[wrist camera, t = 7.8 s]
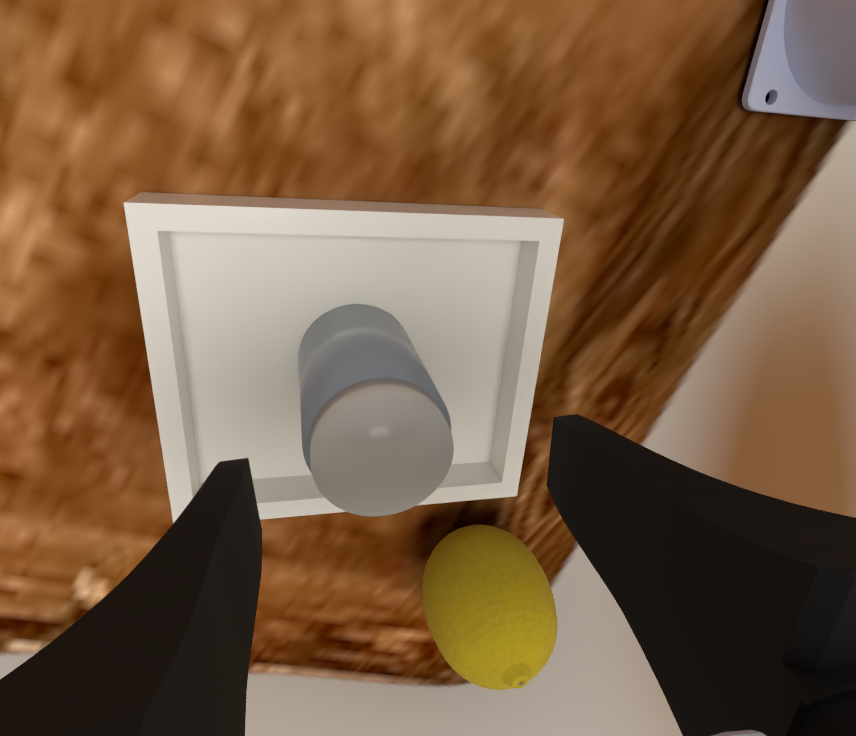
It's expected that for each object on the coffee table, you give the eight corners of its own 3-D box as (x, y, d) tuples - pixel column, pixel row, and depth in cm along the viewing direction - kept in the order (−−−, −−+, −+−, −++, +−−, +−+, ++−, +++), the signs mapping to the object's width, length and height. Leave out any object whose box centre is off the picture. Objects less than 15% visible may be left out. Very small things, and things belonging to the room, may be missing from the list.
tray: (538, 208, 21) (564, 218, 19) (499, 467, 26) (516, 496, 24) (141, 192, 18) (123, 202, 16) (183, 491, 23) (174, 527, 21)
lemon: (445, 593, 29) (496, 750, 22) (384, 535, 26) (420, 693, 19) (531, 535, 28) (611, 675, 21) (478, 470, 26) (549, 606, 19)
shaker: (410, 300, 21) (463, 379, 15) (411, 401, 23) (458, 510, 16) (292, 308, 20) (294, 396, 14) (303, 413, 22) (310, 532, 16)
